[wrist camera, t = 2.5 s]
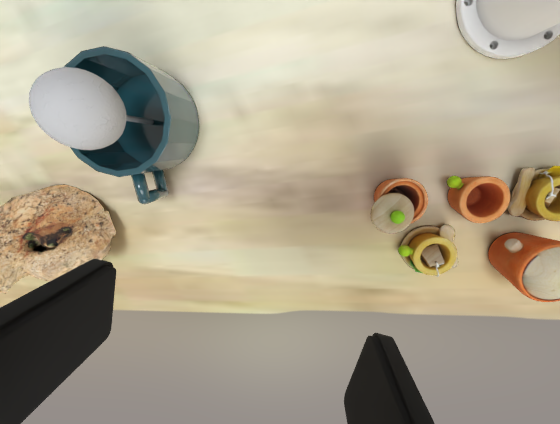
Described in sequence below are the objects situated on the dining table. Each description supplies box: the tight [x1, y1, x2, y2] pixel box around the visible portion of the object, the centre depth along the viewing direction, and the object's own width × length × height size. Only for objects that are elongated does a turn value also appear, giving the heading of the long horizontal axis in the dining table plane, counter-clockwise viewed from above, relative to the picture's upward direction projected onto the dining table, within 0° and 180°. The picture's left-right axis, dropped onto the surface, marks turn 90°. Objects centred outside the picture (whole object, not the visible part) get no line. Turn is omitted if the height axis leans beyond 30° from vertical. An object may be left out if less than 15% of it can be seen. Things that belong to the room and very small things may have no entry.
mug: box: [65, 46, 199, 204], centre depth 32 cm, size 17×13×8 cm
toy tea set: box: [371, 166, 560, 302], centre depth 31 cm, size 26×16×10 cm, turn 90°
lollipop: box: [29, 67, 154, 150], centre depth 28 cm, size 7×7×15 cm
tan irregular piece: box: [0, 185, 116, 293], centre depth 39 cm, size 18×14×8 cm
